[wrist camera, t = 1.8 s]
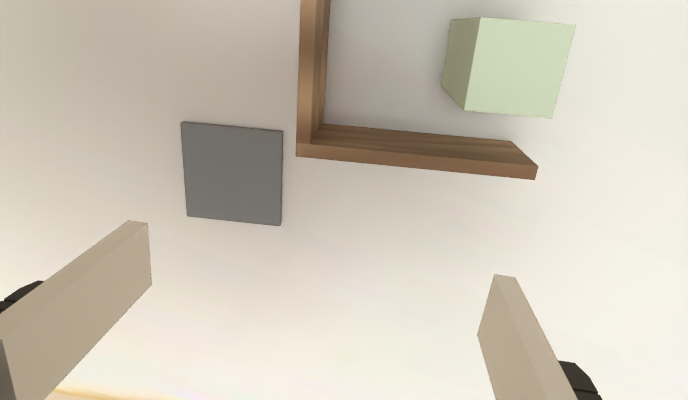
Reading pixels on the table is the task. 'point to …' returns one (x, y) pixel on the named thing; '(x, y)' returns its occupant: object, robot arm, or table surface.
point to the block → (506, 65)
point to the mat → (233, 173)
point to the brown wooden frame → (381, 142)
